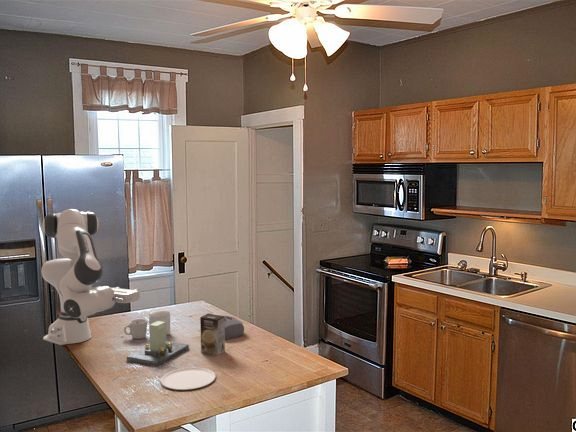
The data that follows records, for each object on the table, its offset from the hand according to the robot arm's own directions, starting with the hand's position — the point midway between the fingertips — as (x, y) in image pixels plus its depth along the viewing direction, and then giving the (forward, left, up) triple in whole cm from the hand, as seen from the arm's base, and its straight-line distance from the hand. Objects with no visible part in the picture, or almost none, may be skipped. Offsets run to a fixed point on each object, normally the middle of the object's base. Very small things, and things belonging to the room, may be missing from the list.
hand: (128, 289), depth 213 cm
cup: (-22, +29, -32) cm, 49 cm away
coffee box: (+22, +27, -32) cm, 47 cm away
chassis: (+2, +15, -32) cm, 35 cm away
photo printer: (-14, +37, -32) cm, 51 cm away
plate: (+29, -2, -33) cm, 44 cm away
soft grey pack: (+13, +51, -32) cm, 62 cm away
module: (+2, +15, -30) cm, 34 cm away
